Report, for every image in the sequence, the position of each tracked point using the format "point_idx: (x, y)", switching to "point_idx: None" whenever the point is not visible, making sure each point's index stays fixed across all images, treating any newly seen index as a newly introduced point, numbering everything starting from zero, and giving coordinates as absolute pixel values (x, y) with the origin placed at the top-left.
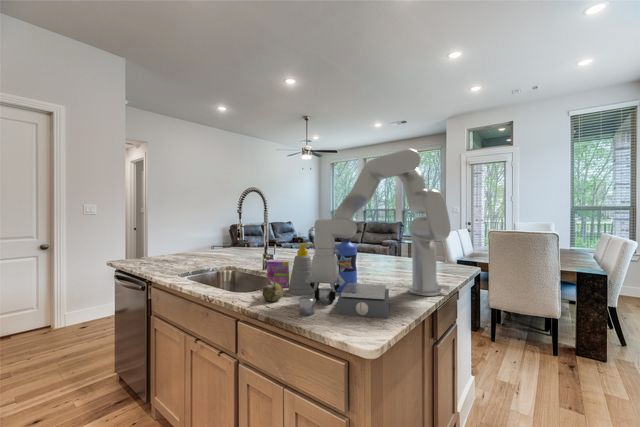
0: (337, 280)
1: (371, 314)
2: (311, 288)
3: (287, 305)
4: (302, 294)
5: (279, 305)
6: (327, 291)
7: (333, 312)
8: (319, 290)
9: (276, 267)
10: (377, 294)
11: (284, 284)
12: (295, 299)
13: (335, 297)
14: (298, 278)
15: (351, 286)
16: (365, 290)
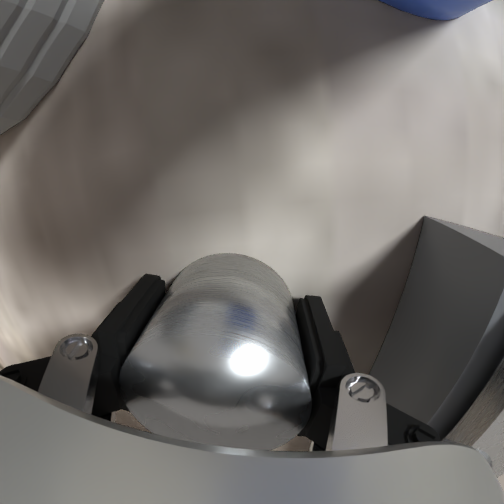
0: (450, 456)
1: None
2: (33, 51)
3: (34, 358)
4: (10, 127)
5: (11, 353)
6: (257, 446)
7: (302, 447)
8: (159, 433)
9: None
10: (498, 475)
11: None
12: (8, 249)
13: (338, 340)
14: None
15: (495, 441)
16: (501, 462)
